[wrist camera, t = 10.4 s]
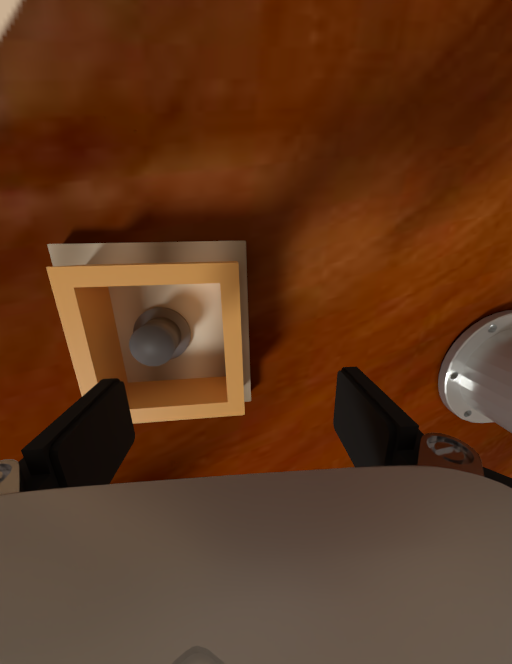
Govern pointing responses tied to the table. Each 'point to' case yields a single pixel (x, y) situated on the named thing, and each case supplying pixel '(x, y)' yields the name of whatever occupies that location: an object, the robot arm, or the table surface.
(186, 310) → the board
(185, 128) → the table surface
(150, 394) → the tan square frame
